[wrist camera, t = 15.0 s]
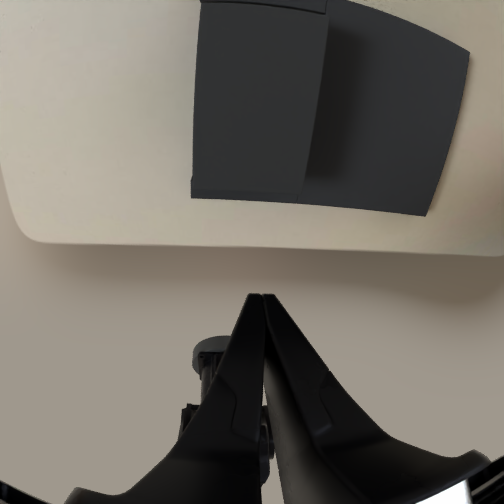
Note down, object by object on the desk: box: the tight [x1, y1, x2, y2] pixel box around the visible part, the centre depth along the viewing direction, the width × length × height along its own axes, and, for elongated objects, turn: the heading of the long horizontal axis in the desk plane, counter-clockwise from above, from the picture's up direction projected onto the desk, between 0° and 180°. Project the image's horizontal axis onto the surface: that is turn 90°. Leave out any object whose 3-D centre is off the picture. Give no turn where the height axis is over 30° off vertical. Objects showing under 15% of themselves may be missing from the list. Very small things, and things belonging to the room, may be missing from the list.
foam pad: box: [193, 3, 330, 195], centre depth 14 cm, size 10×6×4 cm, turn 175°
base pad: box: [191, 0, 470, 217], centre depth 16 cm, size 14×18×1 cm
